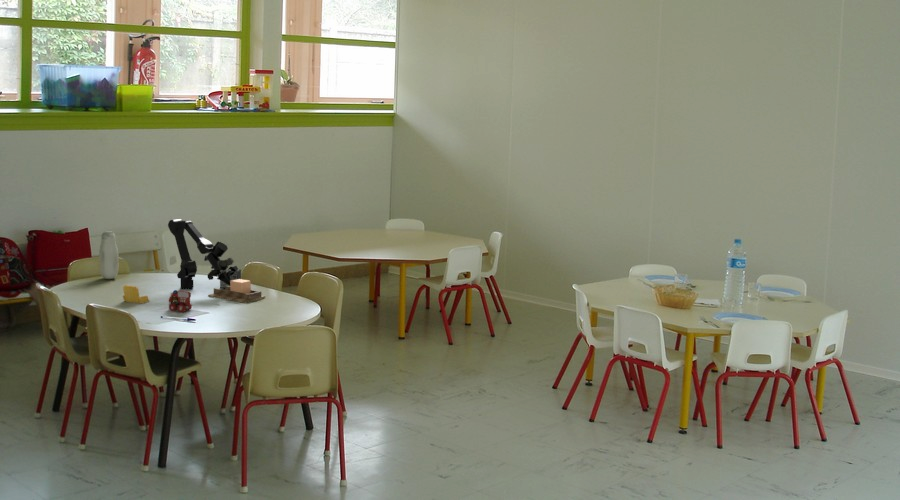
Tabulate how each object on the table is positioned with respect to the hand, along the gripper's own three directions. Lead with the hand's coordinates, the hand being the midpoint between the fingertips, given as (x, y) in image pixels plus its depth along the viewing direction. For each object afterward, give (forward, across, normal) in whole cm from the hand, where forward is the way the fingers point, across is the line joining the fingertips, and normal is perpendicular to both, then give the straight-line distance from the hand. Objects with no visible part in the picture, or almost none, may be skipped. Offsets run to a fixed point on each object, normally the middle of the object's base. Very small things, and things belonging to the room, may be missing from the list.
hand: (231, 284), depth 532 cm
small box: (-6, +17, +16) cm, 24 cm away
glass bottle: (-56, -8, +66) cm, 87 cm away
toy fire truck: (+8, -42, +1) cm, 42 cm away
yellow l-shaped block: (-15, -41, +25) cm, 50 cm away
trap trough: (+7, 0, +1) cm, 7 cm away
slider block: (+8, 0, -1) cm, 8 cm away
